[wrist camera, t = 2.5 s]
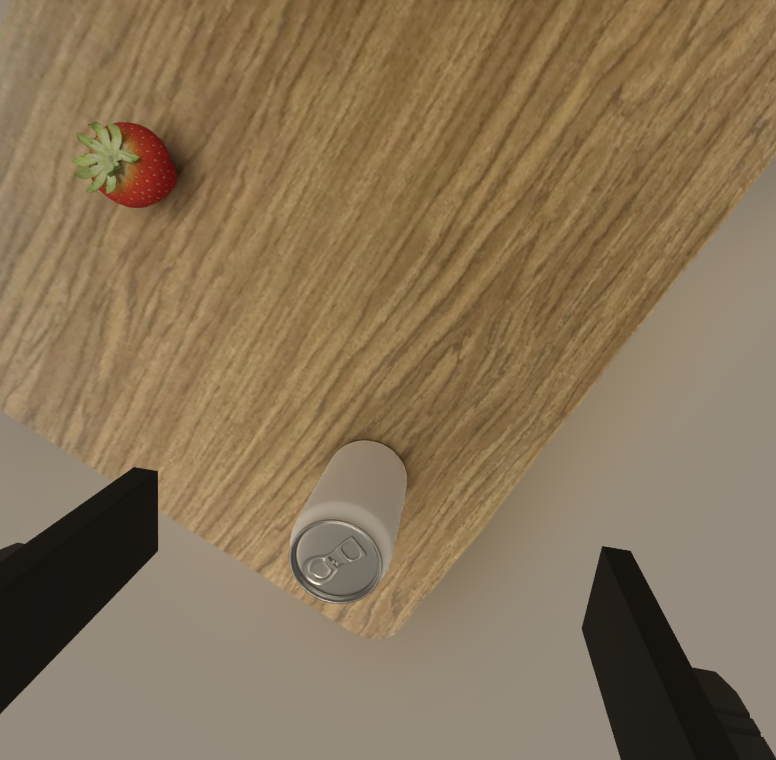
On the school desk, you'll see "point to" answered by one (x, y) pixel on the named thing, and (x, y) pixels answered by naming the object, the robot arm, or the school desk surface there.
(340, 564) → the can
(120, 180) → the fruit
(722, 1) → the school desk surface
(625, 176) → the school desk surface
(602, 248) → the school desk surface
